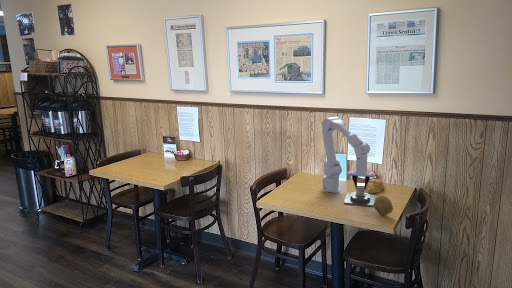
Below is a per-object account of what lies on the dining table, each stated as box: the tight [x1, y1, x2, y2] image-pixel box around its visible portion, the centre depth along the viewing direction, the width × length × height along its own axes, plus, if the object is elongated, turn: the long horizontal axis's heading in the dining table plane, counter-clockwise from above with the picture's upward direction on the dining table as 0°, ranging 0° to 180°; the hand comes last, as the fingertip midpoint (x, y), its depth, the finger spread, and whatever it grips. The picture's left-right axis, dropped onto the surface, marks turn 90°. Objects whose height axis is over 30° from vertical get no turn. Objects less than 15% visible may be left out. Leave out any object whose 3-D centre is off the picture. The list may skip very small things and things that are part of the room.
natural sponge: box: [373, 195, 394, 216], centre depth 192 cm, size 9×9×10 cm
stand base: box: [343, 191, 377, 208], centre depth 212 cm, size 16×16×4 cm
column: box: [356, 182, 366, 197], centre depth 211 cm, size 4×4×6 cm
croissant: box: [365, 178, 384, 195], centre depth 228 cm, size 21×10×8 cm, turn 143°
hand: (360, 189), depth 211 cm, fingers closed on column, 4 cm apart
